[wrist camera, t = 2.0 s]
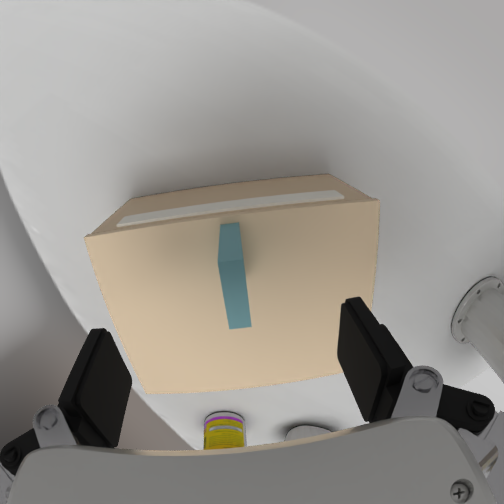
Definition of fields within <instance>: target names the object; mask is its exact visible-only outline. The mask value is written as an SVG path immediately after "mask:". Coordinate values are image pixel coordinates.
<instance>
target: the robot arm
mask: <svg viewBox="0 0 504 504" xmlns="http://www.w3.org/2000/svg"><path fill="white" fill-rule="evenodd" d="M452 335H453V337H454V338H455V339H456V340H457V341H458V342H459V343H469V342H470V343H471V344H472V345H473V346H474V347H475V348H476V350H477V351H478V352H479V353H480V354H481V355H482V357H483V358H484V359H485V360H486V362H487V363H488V364H489V365H490V366H491V368H492V369H493V370H494V371H495V373H496V374H497V375H498V376H499V378H500V379H501V380H502V382H503V383H504V284H503V283H502V282H501V281H500V280H499V279H498V278H495V277H489V278H486V279H484V280H482V281H480V282H479V283H478V284H476V285H475V286H474V287H473V288H472V289H471V290H470V291H469V292H468V294H467V295H466V296H465V297H464V299H463V300H462V302H461V303H460V305H459V307H458V309H457V311H456V313H455V315H454V318H453V322H452ZM337 358H338V361H339V363H340V365H341V368H342V370H343V372H344V375H345V377H346V379H347V381H348V384H349V386H350V388H351V391H352V393H353V395H354V398H355V400H356V402H357V405H358V407H359V409H360V412H361V414H362V416H363V419H364V421H365V422H368V421H369V423H368V424H364V425H360V426H356V427H352V428H348V429H344V430H340V431H336V432H331V433H327V434H322V435H317V436H312V437H307V438H302V439H297V440H291V441H285V442H279V443H272V444H264V445H257V446H248V447H238V448H227V449H212V450H189V451H155V450H153V451H152V450H131V449H116V448H114V447H117V446H118V442H119V437H120V433H121V428H122V423H123V419H124V414H125V410H126V406H127V401H128V397H129V393H130V389H131V386H132V378H131V375H130V373H129V371H128V369H127V367H126V365H125V363H124V361H123V359H122V357H121V355H120V353H119V350H118V348H117V346H116V344H115V342H114V340H113V337H112V335H111V333H110V332H107V330H106V329H104V328H99V329H91V331H90V333H89V335H88V337H87V339H86V341H85V343H84V345H83V347H82V349H81V351H80V353H79V355H78V357H77V359H76V361H75V364H74V366H73V368H72V370H71V372H70V375H69V377H68V379H67V381H66V384H65V386H64V388H63V391H62V393H61V395H60V398H59V400H58V401H59V404H58V406H55V405H46V406H44V407H42V408H40V409H39V410H38V411H37V412H36V414H35V416H34V418H33V427H34V428H33V429H31V430H29V431H28V432H26V433H24V434H23V435H21V436H19V437H18V438H16V439H14V440H13V441H11V442H9V443H8V444H7V445H6V446H4V447H3V449H2V451H1V453H0V504H504V412H502V411H500V412H499V413H497V412H496V411H495V407H494V404H493V403H492V401H491V400H490V399H489V398H487V397H486V396H484V395H481V394H477V393H473V392H469V391H466V390H462V389H458V388H455V387H451V386H448V385H444V384H443V379H442V376H441V374H440V373H439V372H438V371H437V370H435V369H434V368H432V367H429V366H416V367H413V366H412V364H411V363H410V361H409V360H408V358H407V357H406V355H405V354H404V352H403V351H402V349H401V348H400V346H399V345H398V344H397V342H396V341H395V339H394V338H393V336H392V335H391V333H390V332H389V330H388V329H387V328H386V326H385V325H383V324H379V323H378V321H377V320H376V318H375V317H374V315H373V314H372V312H371V311H370V310H369V308H368V307H367V305H366V304H365V302H364V301H363V300H362V298H361V297H353V298H348V299H346V300H345V303H342V304H341V312H340V325H339V336H338V346H337Z"/></svg>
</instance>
